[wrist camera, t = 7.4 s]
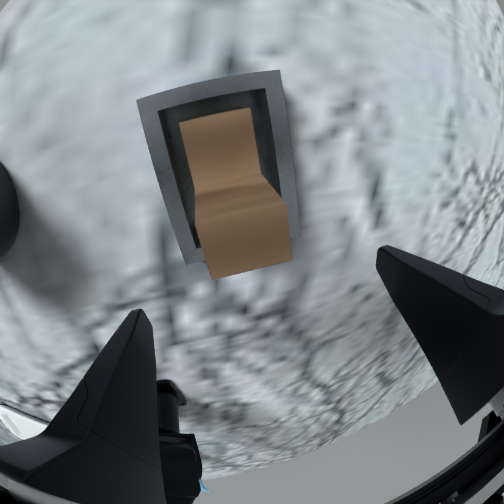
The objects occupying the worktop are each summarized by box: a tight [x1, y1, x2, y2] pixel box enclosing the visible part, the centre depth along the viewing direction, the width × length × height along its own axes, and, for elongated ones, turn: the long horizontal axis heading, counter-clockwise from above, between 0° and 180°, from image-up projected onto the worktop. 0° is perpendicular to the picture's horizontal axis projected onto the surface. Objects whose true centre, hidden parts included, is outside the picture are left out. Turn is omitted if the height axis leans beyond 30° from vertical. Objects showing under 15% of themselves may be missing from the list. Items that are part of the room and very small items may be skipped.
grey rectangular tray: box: [136, 70, 301, 265], centre depth 16 cm, size 11×8×2 cm
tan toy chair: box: [179, 107, 292, 280], centre depth 14 cm, size 7×4×7 cm, turn 9°
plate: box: [0, 405, 50, 440], centre depth 36 cm, size 25×25×2 cm
